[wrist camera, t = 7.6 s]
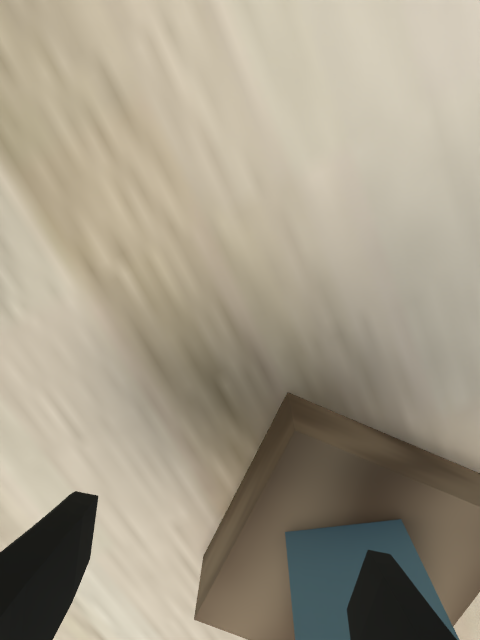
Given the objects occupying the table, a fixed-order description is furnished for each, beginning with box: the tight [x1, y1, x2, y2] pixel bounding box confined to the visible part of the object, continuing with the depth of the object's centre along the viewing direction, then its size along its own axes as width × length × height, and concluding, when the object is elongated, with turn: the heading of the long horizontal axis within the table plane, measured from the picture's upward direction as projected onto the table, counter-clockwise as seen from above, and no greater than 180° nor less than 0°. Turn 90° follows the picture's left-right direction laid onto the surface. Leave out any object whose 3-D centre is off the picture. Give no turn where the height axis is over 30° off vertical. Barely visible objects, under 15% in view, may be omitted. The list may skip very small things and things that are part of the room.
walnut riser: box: [194, 393, 480, 640], centre depth 20 cm, size 11×11×4 cm
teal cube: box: [285, 519, 459, 640], centre depth 15 cm, size 5×5×5 cm
